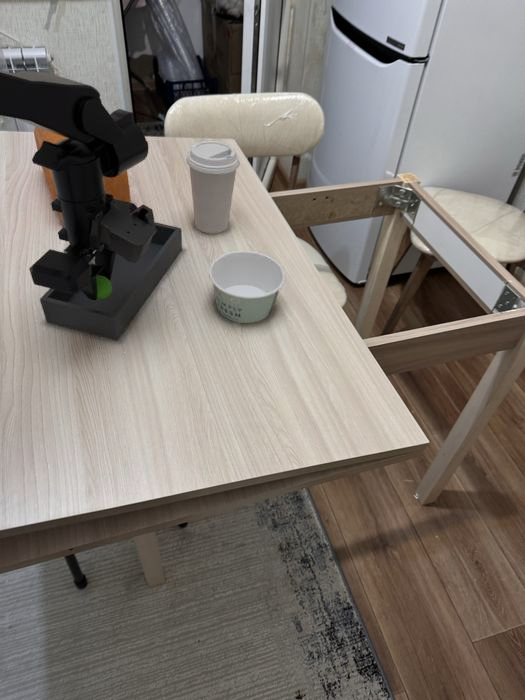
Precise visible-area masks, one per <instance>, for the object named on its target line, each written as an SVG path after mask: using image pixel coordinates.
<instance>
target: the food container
mask: <svg viewBox="0 0 525 700" xmlns="http://www.w3.org/2000/svg"><path fill="white" fill-rule="evenodd" d="M208 278H209V280H210V282H211V284H212V286H213V293H214V297H215V303H216V308H217V310H218V312H219V313H220V314H221V315H222V316H223V317H224V318H226V319H227V320H230V321H232V322H236V323H239V324H253V323H258V322H261V321H263V320H265V319H266V318H267V317H268V316H270V314H271V313H272V310H273V307H274V305H275V302H276V299H277V297H278V295H279V292H280V290H281V289H282V288H283V286H284V285H285V282H286V272H285V270H284V268H283V266H282V265H281V264H280V263H279V262H278V261H277V260H276V259H274V258H272V257H271V256H268V255H266V254H264V253H261V252H257V251H250V250H237V251H236V250H235V251H230V252H226V253H224V254H222V255H219V256H218V257H217V258H215V259H214V260H213V261H212V262H211V263H210V265H209V267H208Z"/></svg>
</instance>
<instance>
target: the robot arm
mask: <svg viewBox="0 0 525 700" xmlns="http://www.w3.org/2000/svg"><path fill="white" fill-rule="evenodd" d="M133 114H134V113H133V112H131V111H128V110H125V109H121V108H118V109H116V110H113V111H112V112H111V113H109V111H108V110H107V109H106V107H105V106H104V104H103V102H102V99H101V92H99V90H98V89H97V88H95V87H93V86H92V85H91V84H86V83H83V82H81V81H76V80H73V79H70V78H66V77H63V76H59V75H57V74H52V73H50V72H45V71H30V70H29V71H28V70H21V71H17V72H4V71H1V70H0V116H1V117H8V118H12V119H17V120H19V121H21V122H23V123H25V124H28V125H31V126H33V127H34V128H35V127H38V128H40V129H43V130H46V131H49V132H52V133H55V134H58V135H61V136H64V137H67V138H66V139H63V140H61V141H59V142H57V143H55V144H53V143H51V142H48V141H43V142H42V145H41V147H40V149H39V150H37V151H35V153H34V154H33V157H32V158H31V162H32V164H34V165H36V166H39V167H41V168H42V167H44V168H47V169H50V170H51V171H52V176H53V180H54V185H55V189H56V194H57V198H56V199H55V200H54V201H53V200H52V201H51V203H50V206H51V210H52V211H53V212H56V213H57V212H61V216H62V221H63V224H62V225H63V227H62V228H61V229H60V230H59V231H58V232H57V235H58V239H59V240H61V241H65V242H68V245H67V247H65V249H63V251H59V250H56V249H55V250H54V249H52V248H50V249H48V250H47V251H46V252H45V253H44V254H43V255H42V256H41V257H40V258H38V259H37V260H36V261H35V262H34V263H33V264H32V265H31V266H30V267H29V268H28V269H29V273H30V277H31V279H32V282H33V285H34V286H39V287H43V288H47V289H54V290H58V291H62V292H66V293H70V294H75V293H79V292H80V291H82V292H83V293H84V294H85V295H86V296H87V297H88V298H89V299H91V300H96V299H97V279H96V276H97V275H101V276H104V277H106V278H107V279H109V281H110V280H111V275H112V270H113V265H114V260H115V255H116V254H118V255H120V256H122V257H124V258H125V260H127V261H129V262H131V263H136V262H138V261H139V260H140V258H141V257H142V255H143V254H144V253H145V252H146V251H147V250H148V248H149V245H150V242H151V239H152V236H153V235H154V234H155V233H156V231H157V229H156V228H155V226H156V224H154V222H155V216H154V210H153V209H152V208H151V207H149V206H147V205H146V204H141V205H140V206H139V207H138V206H137V205H136V204H135V203H134V202H131V203H130V202H126V201H121V200H117V199H114V198H113V195H110V194H106V190H105V184H104V177H103V176H105V177H109V178H113V177H116V176H118V175H120V174H121V173H123V172H125V171H126V170H127V171H128V170H130V169H132V168H134V167H135V166H137V165H138V164H140V163H142V162H144V161H145V160H146V158H147V157H148V154H149V142H148V141H147V139H146V135H145V134H144V132H143V131H142V129H141V128H140V126H139V125H138V124H137V123H135V121H134V115H133Z"/></svg>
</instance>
